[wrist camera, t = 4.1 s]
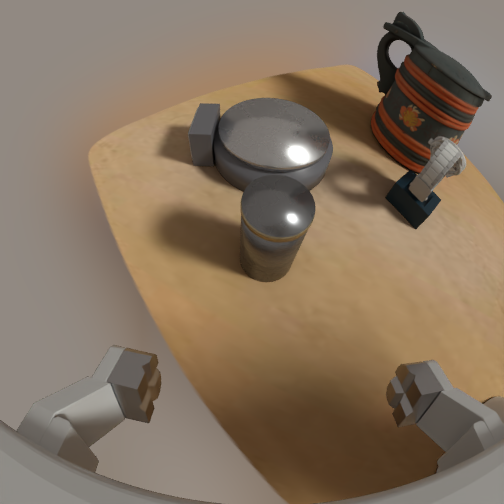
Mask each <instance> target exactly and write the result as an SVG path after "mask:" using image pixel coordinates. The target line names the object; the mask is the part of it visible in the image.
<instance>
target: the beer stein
mask: <svg viewBox="0 0 504 504" xmlns="http://www.w3.org/2000/svg"><path fill="white" fill-rule="evenodd" d="M384 29H386V30H388V31H389V32H388V33H387V34H386V35H384V37H383V38H382V39H381V41H380V43H379V46H378V50H377V60H378V68H379V73H380V81H379V82H377V86H378V88H379V92H383V93H385V96H384V97H383V98H382V99H381V102H380V103H379V104H378V106H377V108H376V111H375V112H374V114H373V116H372V119H371V127H372V131H373V134H374V135H375V137H376V139H377V140H378V141H379V143H380V144H381V145H382V147H383V148H384V149H385V150H386V151H387V152H388V153H389V154H390V155H391V156H392V157H393V158H394V159H395V160H396V161H398V162H399V163H400V164H402V165H403V166H405V167H407V168H408V169H410V170H412V171H415V172H417V173H421V171H422V170H423V168H424V167H425V166H426V164H427V163H428V162H430V161H429V160H430V156H431V152H430V146H431V145H430V144H429V143H428V142H429V140H430V139H431V138H432V139H433V140H434V139H435V138H436V137H440V136H441V137H445V138H448V139H449V140H451V141H453V142H454V143H455V144H456V145H457V144H458V142H459V140H460V138H461V137H462V135H463V133H464V131H465V130H466V129H468V127H469V126H470V124H471V123H472V120H473V117H474V116H475V113H476V111H477V109H478V107H480V106H481V105H482V103H483V101H484V99H485V100H487V101H489V100H490V99H491V97H492V96H491V95H490V93H488V92H487V91H485V90H484V89H483V88H482V87H481V85H480V84H479V83H478V81H477V80H476V79H475V77H474V76H473V75H472V74H471V73H470V72H469V71H468V70H467V69H466V68H465V67H464V66H462V65H461V64H460V63H459V62H457V61H456V60H454V59H453V58H451V57H450V56H448V55H446V54H444V53H443V52H441V51H439V50H438V49H437V48H436V47H435V46H433V45H432V44H431V43H429V42H428V41H426V40H425V39H424V36H423V32H422V30H421V29H420V27H419V26H418V24H417V23H416V22H415V21H414V20H413V19H411V18H410V17H408V16H407V15H406V14H405V13H404V12H399V13H398V14H397V16H396V18H395V20H394V23H393V24H391V23H387V22H386V23H385V24H384ZM395 40H402V41H404V42H406V43H407V44H408V45H409V46H410V47H411V50H412V52H411V53H410V54H409V55H406V57H405V60H404V62H402V63H401V66H400V68H396V67H395V66H394V64H393V63H392V62H391V60H390V58H389V53H388V50H389V46H390V45H391V43H392V42H393V41H395ZM430 163H431V162H430Z"/></svg>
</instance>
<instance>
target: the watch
mask: <svg viewBox="0 0 504 504" xmlns="http://www.w3.org/2000/svg"><path fill="white" fill-rule="evenodd" d="M428 143H429V144H430V145H431V146H430V152H431V156H430V160H429V161H430V162H431V163H430V162H428V163H427V164H426V166H425V167H424V168H423V170H422V171H421V173H420V174H418V175H416V174H415V173H414V172H413V171H412V170H409V171H408V172H407V173H406V174H405V175H404V176H403V177H402V178H400V179H399V180H398V181H397V182H396V183H395V184H394V186H393V187H392V189H391V190H390V192H389V193H388V194H387V196H386V197H385V198H386V199H387V200H388V201H389V202H390V203H391V204H392V205H393V206H394V207H395V208H396V209H397V210H398V211H399V212H400V213H401V214H402V215H403V216H404V217H405V218H406V219H407V220H408V221H409V223H410V224H411V225H412V226H413V227H414V228H415V229H417V228H418V227H419V226H420V225H421V224H422V223H423V222H424V221H425V220H426V219H427V218H428V217H429V215H430V214H431V213H432V211H433V210H434V209H435V208H436V206H437V205H438V204H439V202H440V201H441V199H440V198H439V197H438V196H437V195H436V194H435V193H434V192H433V190H434V188H435V187H436V186H437V185H438V183H439V182H440V181H441V180H442V179H443V178H444V177H445V175H446V177H450V176H453V175H459V174H460V173H461V172H462V171H463V170H464V169H465V167H466V160H465V156H464V154H463V153H462V151H461V150H460V148H459V147H458V146H457V145H456V144H455V143H454V142H453V141H451V140H449V139H448V138H445V137H441V136H440V137H436V138H435V139H434V140H433V139H432V138H431V139H430V140H429V142H428Z"/></svg>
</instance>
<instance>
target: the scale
mask: <svg viewBox="0 0 504 504" xmlns="http://www.w3.org/2000/svg"><path fill="white" fill-rule="evenodd" d="M219 122H220V104H200V105H199V107H198V108H197V111H196V113H195V116H194V119H193V121H192V124H191V127H190V129H189V132H188V138H189V145H190V151H191V157H192V160H193V165H196V166H213V165H214V161H215V164H216V166H217V169H218V170H219V172H220V173H221V175H222V176H223V177H224V178H225V179H226V180H227V181H228V182H229V183H230V184H232V185H233V186H235V187H236V188H238V189H240V190H242V191H244V190H245V189H246V187H247V186H248V185H249V184H250V183H251V182H252V181H254V180H255V179H257V178H259V177H262V176H266V175H284V176H288V177H291V178H293V179H295V180H297V181H299V182H300V183H302V184H303V185H304V186H305V187H306V188H307V189H308V190H309V191H310V190H311V189H313V188H314V187H315V186H317V185H318V184H319V182H320V181H321V180H322V178H323V177H324V174H325V172H326V169H327V167H328V164H329V162H330V159H331V156H332V152H333V145H332V141H331V138H330V143H329V146H328V149H327V152H326V154H325V155H324V157H323V158H322V159H321V160H320V161H319V162H318V163H316V164H314V165H313V166H311V167H308V168H306V169H302V170H298V171H291V172H274V171H267V170H262V169H258V168H255V167H252V166H249V165H247V164H244V163H242V162H240V161H239V160H237V159H235V158H234V157H233V156H231V155H230V154H229V153H228V152H227V151H226V150H225V148H224V147H223V145H222V143H221V142H220V138H219Z"/></svg>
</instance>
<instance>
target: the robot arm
mask: <svg viewBox="0 0 504 504" xmlns="http://www.w3.org/2000/svg"><path fill="white" fill-rule="evenodd" d="M157 365H158V359H157V355H155V354H152V353H147V352H142V351H138V350H134V349H130V348H124V347H120V346H117V345H113V346H111V347H110V348H109V350H108V351H107V353H106V355H105V356H104V358H103V359H102V361H101V363H100V364H99V366H98V367H97V369H96V371H95V373H94V374H93V376H92V377H86V378H84V379H82V380H80V381H78V382H76V383H74V384H72V385H70V386H68V387H66V388H64V389H62V390H60V391H58V392H56V393H54V394H52V395H50V396H48V397H45V398H43V399H41V400H39V401H37V402H36V403H34V404H33V406H32V407H31V409H30V410H29V412H28V413H27V415H26V416H25V418H24V420H23V421H22V423H21V425H20V426H19V428H18V430H17V431H15V430H14V429H12V428H11V427H9V426H8V425H6V424H5V423H4V422H2V421H1V420H0V504H220V503H211V502H203V501H197V500H190V499H184V498H179V497H174V496H169V495H165V494H161V493H156V492H152V491H149V490H144V489H141V488H138V487H134V486H131V485H128V484H125V483H122V482H119V481H116V480H113V479H110V478H107V477H105V476H102V475H99V474H97V473H95V471H96V468H97V465H98V462H99V461H98V459H97V458H96V456H95V455H94V454H93V452H92V451H91V450H90V449H89V447H90V446H91V445H92V444H94V443H95V442H96V441H98V440H99V439H100V438H102V437H103V436H104V435H105V434H107V433H108V432H109V431H111V430H112V429H113V428H115V427H116V426H117V425H118V424H120V423H121V422H122V421H123V420H124V419H125V418H128V419H132V420H136V421H141V422H145V423H149V422H150V419H151V416H152V413H153V410H154V405H153V401H154V400H155V399H157V398H158V396H159V393H160V388H161V374H160V371H159V370H158V369H157V368H156V367H157ZM395 373H396V377H394V378H393V379H392V380H391V381H390V383H389V384H388V386H387V392H386V396H387V401H388V403H389V405H390V406H392V407H393V408H394V411H393V416H394V419H395V421H396V424H397V426H398V427H402V426H407V425H412V424H416V425H417V426H418V427H419V428H420V429H421V430H422V431H423V432H425V433H426V434H427V435H428V436H429V437H430V438H431V439H432V440H433V441H434V442H435V443H436V444H438V445H439V446H440V447H441V448H442V449H443V450H444V451H445V452H446V453H445V454H443V455H442V456H441V457H440V458H439V459H438V461H437V463H438V466H439V467H438V469H437V472H436V474H434V475H431V476H428V477H426V478H423V479H420V480H418V481H415V482H412V483H409V484H406V485H403V486H399V487H396V488H392V489H389V490H385V491H381V492H377V493H373V494H369V495H365V496H360V497H355V498H350V499H344V500H338V501H331V502H323V503H314V504H504V398H503V397H499V396H498V397H494V398H491V399H490V400H488V401H487V402H485V403H484V404H482V403H480V402H479V401H477V400H476V399H474V398H472V397H471V396H469V395H467V394H466V393H464V392H463V391H461V390H459V389H458V388H453V386H452V385H451V383H450V381H449V380H448V378H447V377H446V375H445V374H444V372H443V370H442V369H441V367H440V366H439V364H438V363H437V362H436V361H435V360H429V361H423V362H415V363H407V364H401V365H400V366H399V367H398V368H397V370H396V372H395Z"/></svg>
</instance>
